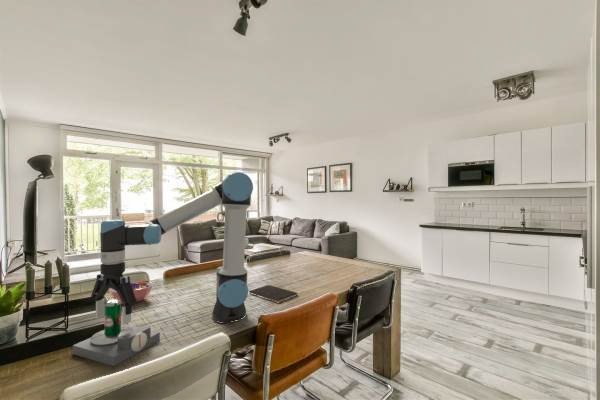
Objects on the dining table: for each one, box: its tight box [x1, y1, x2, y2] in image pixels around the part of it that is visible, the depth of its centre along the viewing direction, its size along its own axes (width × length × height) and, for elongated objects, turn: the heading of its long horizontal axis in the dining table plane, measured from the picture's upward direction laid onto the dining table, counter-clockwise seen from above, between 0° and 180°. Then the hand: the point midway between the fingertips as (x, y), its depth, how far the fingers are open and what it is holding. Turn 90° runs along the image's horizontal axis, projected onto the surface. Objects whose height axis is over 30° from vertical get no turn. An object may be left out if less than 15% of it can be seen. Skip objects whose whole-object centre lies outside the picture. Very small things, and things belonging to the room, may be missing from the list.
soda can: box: [103, 299, 122, 337], centre depth 103 cm, size 5×5×12 cm
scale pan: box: [90, 326, 133, 346], centre depth 103 cm, size 13×13×1 cm
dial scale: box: [72, 323, 161, 367], centre depth 102 cm, size 21×18×7 cm
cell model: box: [108, 281, 153, 305], centre depth 146 cm, size 17×20×11 cm
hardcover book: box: [248, 284, 299, 303], centre depth 159 cm, size 16×23×2 cm
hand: (113, 320), depth 103 cm, fingers open, 13 cm apart
